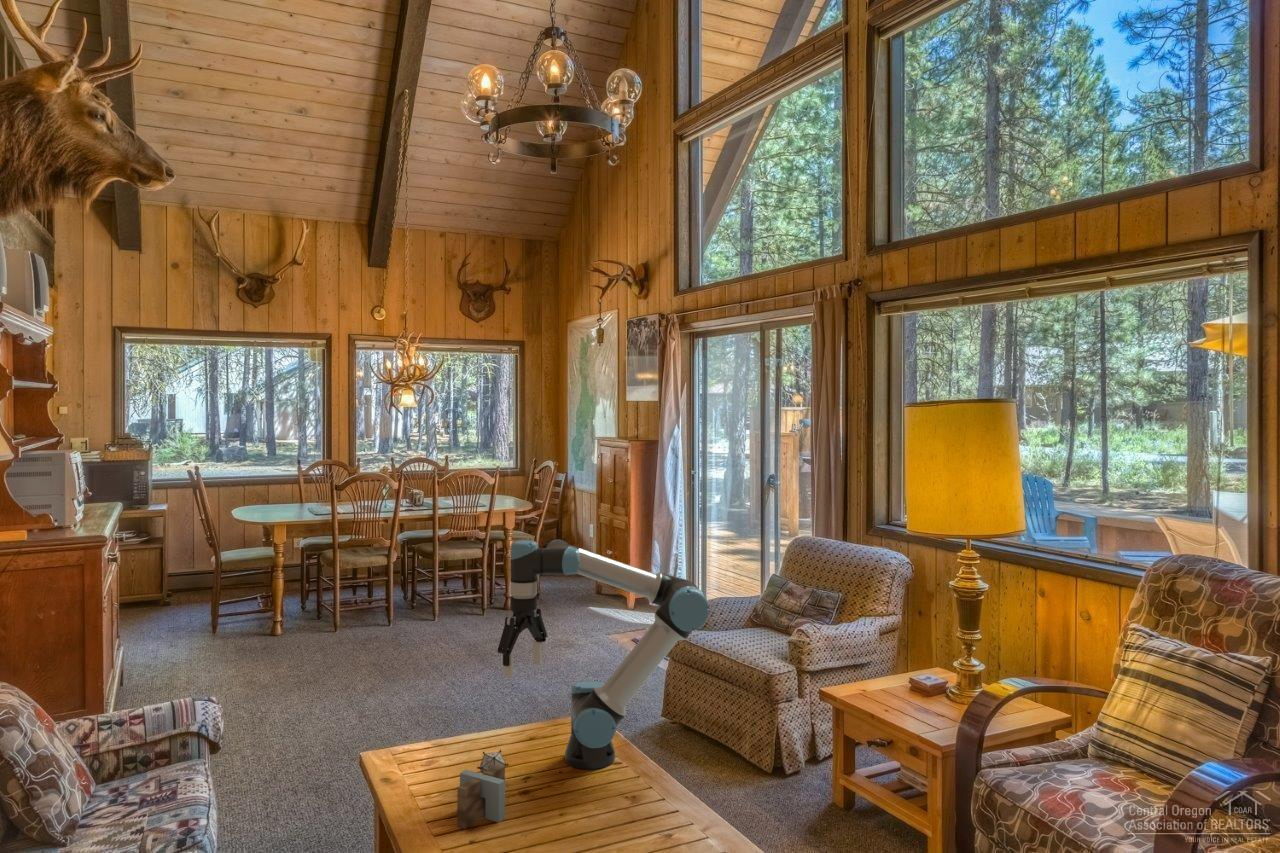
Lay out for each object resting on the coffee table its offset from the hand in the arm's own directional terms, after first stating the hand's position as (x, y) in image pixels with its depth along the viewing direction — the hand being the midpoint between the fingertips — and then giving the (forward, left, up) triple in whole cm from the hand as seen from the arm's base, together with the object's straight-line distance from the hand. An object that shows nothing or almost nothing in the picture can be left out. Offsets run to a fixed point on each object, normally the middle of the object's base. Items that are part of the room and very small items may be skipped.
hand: (523, 670), depth 239 cm
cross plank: (+13, +17, -32) cm, 38 cm away
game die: (+8, -3, -32) cm, 33 cm away
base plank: (+13, +17, -32) cm, 38 cm away
